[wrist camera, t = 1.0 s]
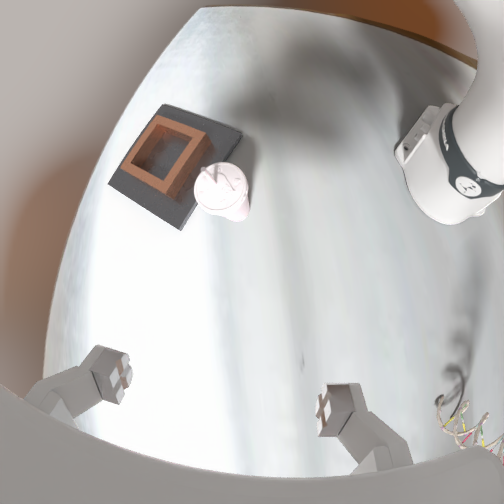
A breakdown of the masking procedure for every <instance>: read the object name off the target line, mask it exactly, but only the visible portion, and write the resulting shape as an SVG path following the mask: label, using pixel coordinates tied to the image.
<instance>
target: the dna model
mask: <svg viewBox="0 0 504 504" xmlns="http://www.w3.org/2000/svg"><path fill="white" fill-rule="evenodd" d="M443 399H444V396H442V397H441V399H440V402H439V404H438V410H437V420H438V423H439V426H440V428H441V429H442V430H443V431H444V432H446V433H448V434H450V435H454V438H455V441H456V444H457V445H458V446H459V447H460V448H461V449H465V448H468V447H466V446H464V445H463V443H464V442H465V441H466V440H467V438H468V437H469V436H470V435H471V434H472V431H474V430H475V429H476V431H475V435H474V441H473V446H474V445H477V443H478V442H477V439H478V435H479V432H480V431H481V436H482V447H484V448H486V449H487V448H489V447H491V446H493V445H495V444H496V445H495V446H494V447H496V446H497V445H498V444H499V443H500V441H501V440H502V442H501V445H500V448H499V451H498V454H497V457H499V458H501V454H502V451H503V453H504V434H503V435H502V436H500V437H499V438H498V439H497V440H495V441H494V442H492V443H491V444H489V445H487V446H484V439H483V432H482V424H484V422H485V421H486V419H487V418H488V416H489V413H488V412H486V413H485V414H484V415H483V417H482V419H481V421H480V422H479V423H478V424H477V425H476V426H475V427H473V428H471V429H470V430H468V431H466V430H465V425H464V421H463V416H462V413H463V412H464V411H465V410H466V409H467V408H468V406H469V403H470V402H469V400H467V401H464V402H463V403H462V404H461V406H460V408H459V410H458V412H457V414H456V415H455V416H453V417H451V418H450V420H449V421H448V422H447V423H446V424H445V425H444V426H443V424H442V421H441V418H440V413H441V410H440V409H441V404H442V402H443ZM464 407H465V408H464ZM463 408H464V409H463ZM462 409H463V410H462ZM460 415H461V418H462V422H463V428H464V432H457V430H456V428H457V423H458V418H459V416H460ZM454 418H455V419H454ZM452 419H454V427H453V432H451V431H449V430H447V429H446V428H445V426H446V425H447V424H448V423H449V422H450V421H451V420H452ZM469 432H471V433H470V434H469V435H468V436H467V437H466V438H465V440H464V441H463V442H461V441H460V440H459V439H458V436H460V435H464V436H466V435H467V433H469ZM494 447H493V448H494ZM492 451H493V450H492V449H491V450H490V452H492ZM503 459H504V457H503ZM503 461H504V460H503ZM503 466H504V463H503Z"/></svg>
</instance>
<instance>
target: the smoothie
mask: <svg viewBox="0 0 504 504" xmlns="http://www.w3.org/2000/svg"><path fill="white" fill-rule="evenodd" d="M201 171H202V172H201V173H200V174H199V176H198V177H197V179H196V182H195V185H194V195H195V199H196V201H197V203H198V204H199V205H200V206H201V208H202V209H204V210H205V211H206V212H208V213H211V214H213V215H221V216H223V217H225V218H227V219H229V220H231V221H235V222H239V221H242V220H244V219H245V218H246V217H247V216H248V214H249V211H250V206H249V201H248V195H247V193H248V181H247V178H246V176H245V174H244V173H243V172H242V170H241V169H240V168H239V167H237V166H236V165H234V164H232V163H228V162H219V163H214V164H212V165H210V166H208V167H206V168H205V167H202V168H201Z"/></svg>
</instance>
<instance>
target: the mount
mask: <svg viewBox="0 0 504 504" xmlns="http://www.w3.org/2000/svg"><path fill="white" fill-rule="evenodd" d="M241 138H242V133H240V132H238V131H235V130H233V129H230V128H228V127H225V126H223V125H220V124H217V123H215V122H212V121H209V120H207V119H204V118H201V117H199V116H196V115H193V114H190V113H187V112H184V111H181V110H178V109H175V108H172V107H169V106H166V105H163V104H162V106H161V107H160V108H159V109H158V111H157V112H156V113H155V115H154V116H153V117H152V118H151V120H150V121H149V122H148V124H147V125H146V127H145V128H144V129H143V131H142V132H141V134H140V135H139V136H138V138H137V139H136V141H135V142H134V144H133V145H132V146H131V148H130V149H129V151H128V152H127V154H126V155H125V157H124V159H123V160H122V162H121V163H120V165H119V166H118V168H117V170H116V171H115V173H114V174H113V176H112V178H111V179H110V181H109V183H108V185H110V186H112V187H113V188H115V189H116V190H118V191H119V192H121V193H122V194H124V195H125V196H127V197H128V198H130V199H131V200H133V201H135V202H136V203H138V204H139V205H141V206H142V207H144V208H145V209H147V210H148V211H150V212H152V213H153V214H155V215H156V216H158V217H159V218H161V219H163V220H164V221H166V222H167V223H169V224H170V225H172V226H174V227H175V228H177V229H178V230H180V231H181V230H182V229H183V227H184V225H185V224H186V222H187V220H188V219H189V217H190V216H191V214H192V212H193V211H194V209H195V207H196V206H197V204H198V203H197V201H196V199H195V195H194V185H195V182H196V179H197V177H198V176H199V174H200V173H201V172H202V171H201V168H202V167H205V168H206V167H208V166H210V165H212V164H214V163H219V162H225V161H226V159H227V158H228V156H229V155H230V154H231V152H232V151H233V149H234V148H235V146H236V145H237V143H238V142H239V140H240V139H241Z"/></svg>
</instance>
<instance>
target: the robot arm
mask: <svg viewBox="0 0 504 504" xmlns="http://www.w3.org/2000/svg"><path fill="white" fill-rule="evenodd" d="M453 1H454V2H455V4H456V5H457V7H458V8H459V9H460V11H461V12H462V14H463V15H464V17H465V19H466V20H467V23H468V24H469V27H470V28H471V31H472V33H473V36H474V40H475V42H476V48H477V54H478V66H477V72H476V76H475V79H474V81H473V83H472V85H471V87H470V89H469V91H468V93H467V94H466V96H465V97H464V99H463V101H462V102H461V104H460V105H458V106H457V105H454V104H451V103H444V104H443V106H442V107H441V108H440V107H437V106H432V105H430V106H428V107H427V108H426V109H425V111H424V112H423V113H422V115H421V116H420V118H419V119H418V120H417V122H416V123H415V124H414V126H413V127H412V128H411V130H410V131H409V132H408V134H407V135H406V136H405V138H404V139H403V140H402V142H401V143H400V144H399V146H398V147H397V148H396V150H395V156H396V158H397V160H398V162H399V163H400V165H401V166H402V168H403V170H404V173H405V178H406V182H407V186H408V189H409V191H410V193H411V195H412V197H413V199H414V200H415V202H416V203H417V205H418V206H419V207H420V208H421V210H422V211H423V212H424V213H425V214H427V215H428V216H429V217H431V218H432V219H434V220H435V221H437V222H440V223H443V224H448V225H454V224H459V223H461V222H463V221H464V220H466V219H467V218H469V217H478V216H481V215H483V214H484V213H485V210H486V206H488V205H489V204H490V203H492V202H493V201H494V200H496V199H497V198H498V197H499V196H500V195H501V192H503V191H504V0H453ZM404 148H406V149H407V151H406V150H405V149H404ZM129 361H130V359H129V355H128V354H126V353H123V352H120V351H117V350H114V349H110V348H107V347H104V346H101V345H96V346H95V347H94V348H93V349H92V350H91V352H90V353H89V354H88V356H87V357H86V358H85V359H84V361H83V362H82V363H81V365H80V366H79V367H78V366H75V367H73V368H70V369H68V370H65V371H63V372H60V373H58V374H55V375H53V376H50V377H48V378H45V379H43V380H40V381H38V382H36V383H35V385H34V386H33V387H32V388H31V390H30V391H29V392H28V394H27V395H26V396H25V398H24V399H22V398H20V397H19V396H17V395H16V394H14V393H13V392H11V391H10V390H8V389H7V388H5V387H4V386H3V385H1V384H0V504H504V466H503V464H502V462H501V460H500V458H499V457H497V456H496V455H495V454H493V453H492V452H490V451H489V450H487V449H486V448H484V447H482V446H480V445H474V446H471V447H468V448H465V449H463V450H460V451H457V452H454V453H451V454H448V455H445V456H442V457H439V458H435V459H432V460H428V461H424V462H421V463H417V464H413V460H412V457H411V454H410V451H409V447H408V444H407V442H406V441H405V440H404V439H403V438H402V437H400V436H399V435H398V434H397V433H396V432H395V431H393V430H392V429H391V428H390V427H389V426H387V425H386V424H385V423H384V422H383V421H382V420H380V419H379V418H378V417H377V416H376V415H375V414H374V413H372V412H368V409H367V406H366V403H365V399H364V396H363V392H362V389H361V386H360V384H359V383H324V384H323V386H322V388H321V392H322V393H321V394H320V395H318V398H317V400H316V405H315V414H316V417H317V418H318V419H319V420H318V422H317V433H318V437H337V438H338V439H339V441H340V442H341V443H342V444H343V446H344V447H345V448H346V449H347V451H348V452H349V453H350V454H351V455H352V457H353V458H354V459H355V460H356V461H357V463H358V464H359V465H358V466H357V468H356V469H355V470H354V471H353V472H352V473H351V474H350V475H345V476H333V477H313V478H283V477H263V476H250V475H240V474H232V473H224V472H218V471H212V470H206V469H200V468H195V467H190V466H185V465H181V464H177V463H172V462H168V461H165V460H161V459H157V458H154V457H150V456H147V455H143V454H140V453H137V452H134V451H131V450H128V449H125V448H122V447H119V446H117V445H114V444H111V443H109V442H106V441H104V440H101V439H99V438H96V437H94V436H92V435H89V434H87V433H85V432H83V431H80V430H79V428H78V426H77V424H76V422H75V421H74V418H75V417H77V416H79V415H80V414H82V413H83V412H85V411H87V410H88V409H90V408H91V407H93V406H95V405H96V404H98V403H99V402H101V401H102V399H103V400H106V401H109V402H112V403H115V404H118V405H119V404H120V402H121V400H122V398H123V397H124V395H125V393H124V389H126V388H128V387H129V385H130V383H131V380H132V368H131V366H130V365H129V364H128V362H129Z"/></svg>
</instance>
